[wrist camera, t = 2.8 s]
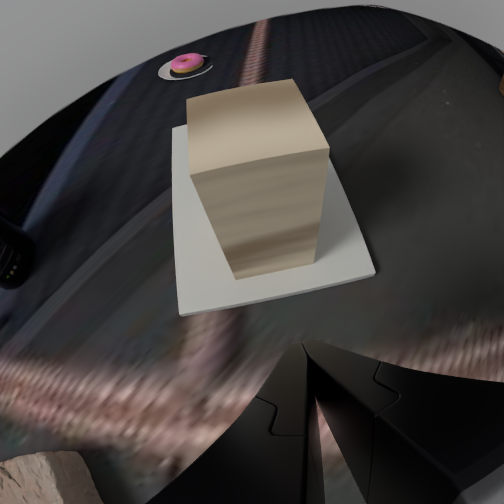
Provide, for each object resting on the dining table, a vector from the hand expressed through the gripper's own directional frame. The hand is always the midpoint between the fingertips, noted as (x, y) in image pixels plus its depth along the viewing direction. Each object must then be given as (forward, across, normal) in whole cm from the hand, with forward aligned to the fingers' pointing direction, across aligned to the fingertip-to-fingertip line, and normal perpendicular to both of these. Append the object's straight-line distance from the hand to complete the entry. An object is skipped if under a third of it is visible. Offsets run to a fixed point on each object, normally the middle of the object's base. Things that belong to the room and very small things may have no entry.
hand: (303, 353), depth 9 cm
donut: (+36, -6, +22) cm, 42 cm away
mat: (+18, 0, +4) cm, 18 cm away
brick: (0, -25, -14) cm, 29 cm away
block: (+14, 0, 0) cm, 14 cm away
